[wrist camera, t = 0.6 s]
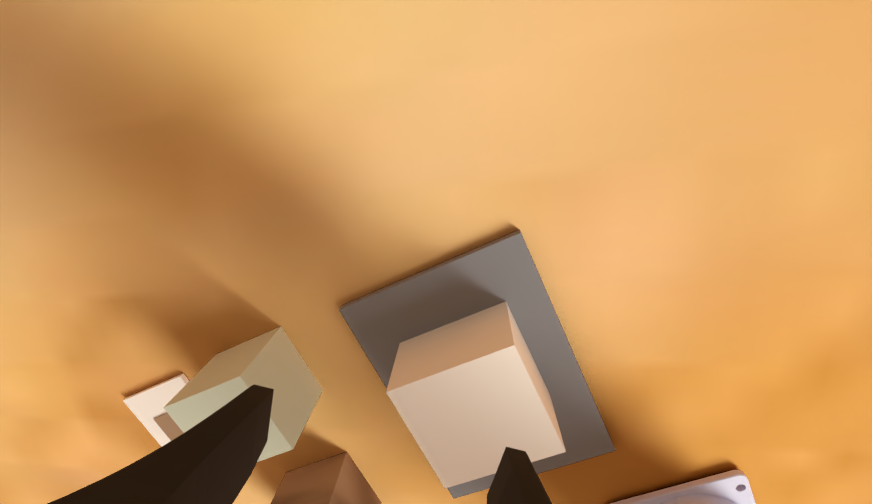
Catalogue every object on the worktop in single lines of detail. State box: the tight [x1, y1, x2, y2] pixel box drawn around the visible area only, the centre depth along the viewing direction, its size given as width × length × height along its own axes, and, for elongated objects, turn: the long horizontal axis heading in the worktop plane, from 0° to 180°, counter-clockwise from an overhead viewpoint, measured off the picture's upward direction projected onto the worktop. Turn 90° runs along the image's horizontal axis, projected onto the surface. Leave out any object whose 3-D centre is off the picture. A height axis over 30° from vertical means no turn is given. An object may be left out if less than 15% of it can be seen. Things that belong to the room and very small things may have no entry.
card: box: [123, 373, 189, 447], centre depth 26 cm, size 6×4×1 cm
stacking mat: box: [339, 230, 616, 498], centre depth 23 cm, size 14×10×1 cm
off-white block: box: [386, 301, 566, 488], centre depth 21 cm, size 6×6×4 cm
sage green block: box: [163, 327, 323, 462], centre depth 22 cm, size 4×4×4 cm
